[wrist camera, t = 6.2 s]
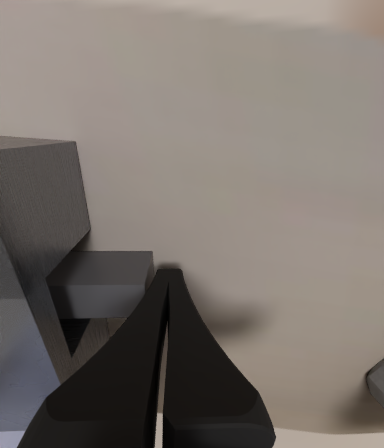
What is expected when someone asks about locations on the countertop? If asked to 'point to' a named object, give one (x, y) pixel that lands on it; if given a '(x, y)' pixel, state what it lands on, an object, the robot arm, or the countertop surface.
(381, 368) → the coffeepot
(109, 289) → the plug
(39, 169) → the grey bridge block
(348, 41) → the countertop surface
